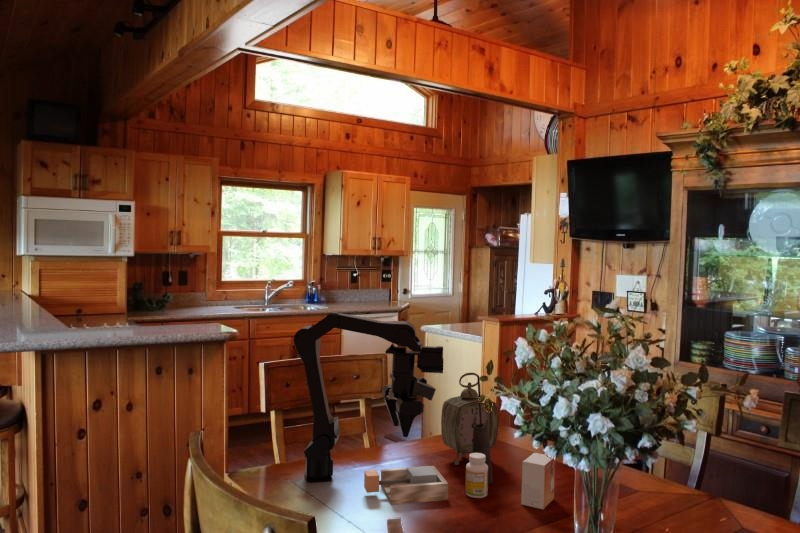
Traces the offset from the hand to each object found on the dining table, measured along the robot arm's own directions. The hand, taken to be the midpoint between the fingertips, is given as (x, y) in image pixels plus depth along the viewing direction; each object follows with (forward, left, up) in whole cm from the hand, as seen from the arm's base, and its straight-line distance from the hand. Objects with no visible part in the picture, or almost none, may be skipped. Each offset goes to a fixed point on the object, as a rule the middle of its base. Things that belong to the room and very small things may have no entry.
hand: (400, 431), depth 163 cm
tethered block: (-2, -8, -12) cm, 14 cm away
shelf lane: (+2, -8, -13) cm, 15 cm away
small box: (+30, -19, -13) cm, 38 cm away
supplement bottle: (+17, -12, -13) cm, 24 cm away
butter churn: (+22, -4, -13) cm, 26 cm away
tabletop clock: (+23, +12, -13) cm, 29 cm away
